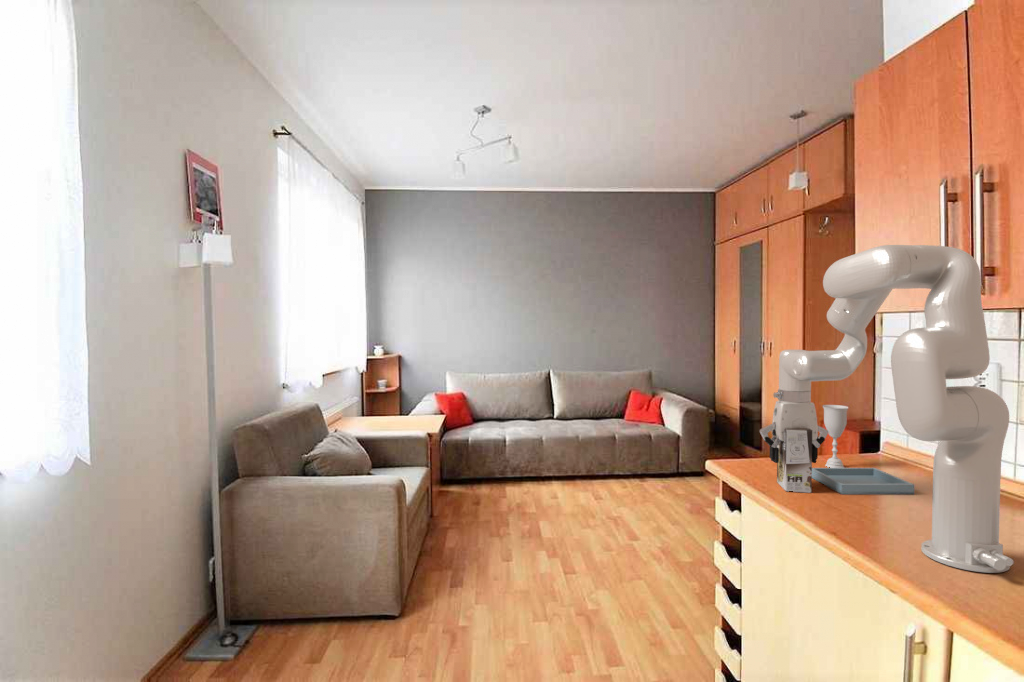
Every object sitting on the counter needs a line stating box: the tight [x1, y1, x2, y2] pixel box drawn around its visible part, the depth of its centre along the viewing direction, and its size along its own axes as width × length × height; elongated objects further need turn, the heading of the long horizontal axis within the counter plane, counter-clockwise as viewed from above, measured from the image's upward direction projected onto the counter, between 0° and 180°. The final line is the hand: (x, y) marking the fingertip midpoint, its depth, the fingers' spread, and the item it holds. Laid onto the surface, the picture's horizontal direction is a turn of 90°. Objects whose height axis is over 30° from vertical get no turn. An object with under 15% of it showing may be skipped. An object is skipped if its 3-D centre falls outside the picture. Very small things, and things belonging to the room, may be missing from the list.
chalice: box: [822, 404, 849, 468], centre depth 166 cm, size 7×7×18 cm
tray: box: [812, 467, 916, 495], centre depth 148 cm, size 16×18×2 cm
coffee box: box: [776, 428, 813, 494], centre depth 146 cm, size 9×6×16 cm
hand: (793, 461), depth 146 cm, fingers open, 9 cm apart
